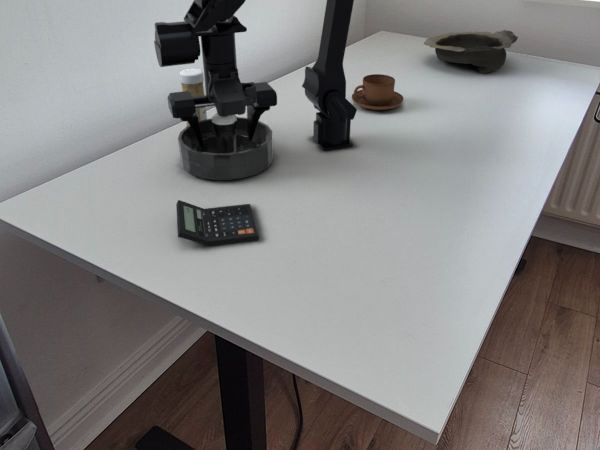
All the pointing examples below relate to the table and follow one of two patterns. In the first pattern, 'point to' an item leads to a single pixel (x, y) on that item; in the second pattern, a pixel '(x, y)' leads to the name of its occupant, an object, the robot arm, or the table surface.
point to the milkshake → (225, 133)
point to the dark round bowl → (226, 165)
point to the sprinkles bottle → (194, 88)
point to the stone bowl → (473, 48)
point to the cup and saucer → (377, 93)
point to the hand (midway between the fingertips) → (226, 143)
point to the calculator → (216, 224)
